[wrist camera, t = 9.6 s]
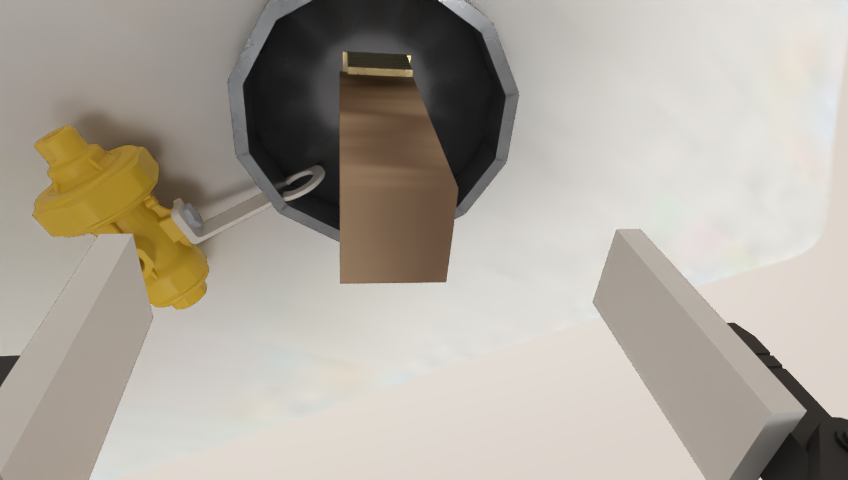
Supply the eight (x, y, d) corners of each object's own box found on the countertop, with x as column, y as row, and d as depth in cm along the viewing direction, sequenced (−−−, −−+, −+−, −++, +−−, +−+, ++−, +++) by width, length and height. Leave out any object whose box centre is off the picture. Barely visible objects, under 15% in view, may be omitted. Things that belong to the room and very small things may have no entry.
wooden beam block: (339, 140, 27) (340, 283, 17) (339, 71, 25) (340, 187, 16) (407, 142, 28) (445, 282, 18) (412, 74, 26) (458, 188, 16)
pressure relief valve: (155, 291, 31) (20, 141, 25) (341, 195, 31) (248, 28, 26) (140, 352, 26) (-30, 185, 21) (358, 238, 27) (249, 47, 21)
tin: (252, 213, 30) (244, 245, 27) (226, -52, 23) (211, -44, 20) (480, 214, 32) (493, 244, 29) (519, -28, 25) (541, -18, 22)
